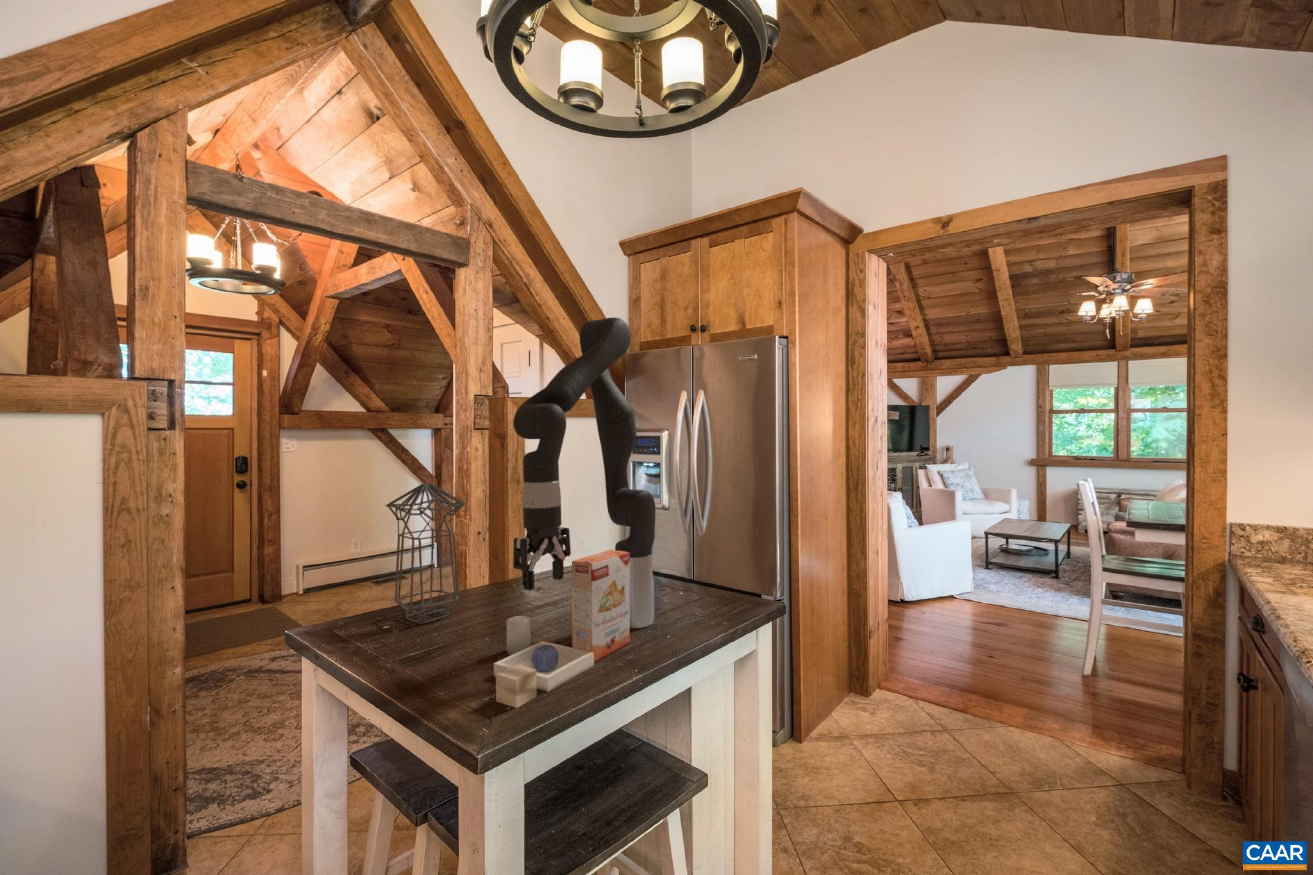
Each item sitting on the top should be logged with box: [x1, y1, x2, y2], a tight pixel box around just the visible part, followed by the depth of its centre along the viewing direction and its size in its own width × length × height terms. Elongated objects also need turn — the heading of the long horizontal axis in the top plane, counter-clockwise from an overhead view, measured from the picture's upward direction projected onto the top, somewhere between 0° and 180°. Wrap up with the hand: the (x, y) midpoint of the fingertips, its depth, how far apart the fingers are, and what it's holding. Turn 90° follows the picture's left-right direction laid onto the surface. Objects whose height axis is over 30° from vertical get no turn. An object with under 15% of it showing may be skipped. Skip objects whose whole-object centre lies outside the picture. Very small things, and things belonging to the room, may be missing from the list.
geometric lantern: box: [384, 482, 467, 625], centre depth 153 cm, size 16×16×35 cm
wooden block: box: [495, 664, 537, 709], centre depth 105 cm, size 5×5×5 cm
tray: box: [493, 640, 595, 692], centre depth 118 cm, size 14×14×2 cm
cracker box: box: [571, 549, 631, 663], centre depth 127 cm, size 14×6×21 cm, turn 148°
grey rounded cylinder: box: [506, 615, 532, 656], centre depth 128 cm, size 5×5×7 cm
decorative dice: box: [531, 645, 559, 672], centre depth 118 cm, size 4×4×4 cm
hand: (544, 584), depth 117 cm, fingers open, 8 cm apart
